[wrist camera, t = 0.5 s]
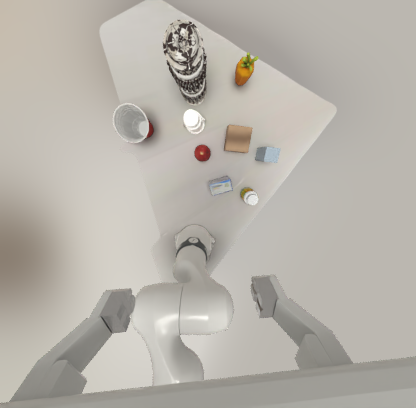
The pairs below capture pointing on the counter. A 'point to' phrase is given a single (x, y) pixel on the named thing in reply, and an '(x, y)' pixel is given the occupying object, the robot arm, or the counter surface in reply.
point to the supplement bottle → (249, 196)
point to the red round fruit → (202, 153)
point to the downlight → (193, 121)
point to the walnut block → (237, 138)
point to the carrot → (244, 69)
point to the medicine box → (220, 185)
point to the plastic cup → (131, 123)
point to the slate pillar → (267, 154)
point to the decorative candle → (186, 59)
